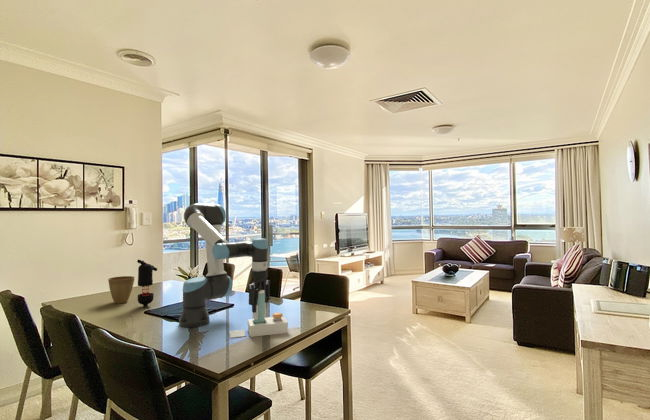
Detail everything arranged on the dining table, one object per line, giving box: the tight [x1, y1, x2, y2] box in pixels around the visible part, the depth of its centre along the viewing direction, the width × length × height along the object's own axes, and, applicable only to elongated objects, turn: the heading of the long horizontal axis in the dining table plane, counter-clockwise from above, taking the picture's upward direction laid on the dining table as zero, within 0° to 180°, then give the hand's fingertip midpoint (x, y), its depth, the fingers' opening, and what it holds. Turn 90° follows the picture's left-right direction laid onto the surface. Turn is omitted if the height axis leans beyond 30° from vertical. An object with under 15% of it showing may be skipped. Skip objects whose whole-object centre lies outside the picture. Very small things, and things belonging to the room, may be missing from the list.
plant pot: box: [107, 275, 135, 304], centre depth 219 cm, size 15×15×16 cm
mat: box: [229, 329, 246, 339], centre depth 160 cm, size 7×9×1 cm
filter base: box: [247, 316, 289, 338], centre depth 165 cm, size 18×11×5 cm, turn 109°
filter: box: [136, 259, 158, 308], centre depth 210 cm, size 14×9×30 cm
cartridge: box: [254, 289, 266, 324], centre depth 163 cm, size 5×5×20 cm
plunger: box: [272, 312, 284, 322], centre depth 166 cm, size 5×5×4 cm
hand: (259, 317), depth 163 cm, fingers closed on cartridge, 5 cm apart
